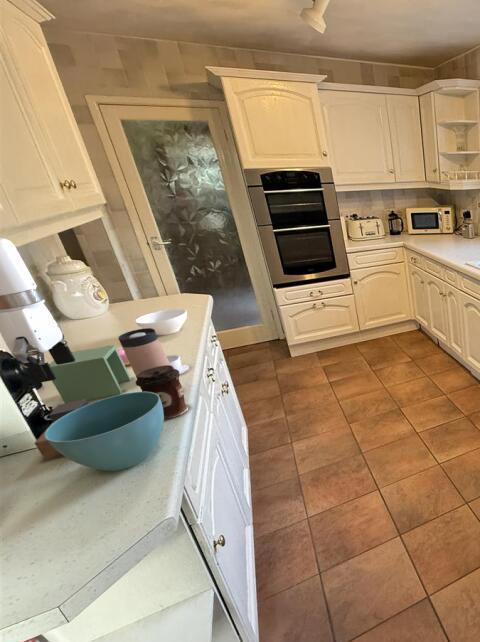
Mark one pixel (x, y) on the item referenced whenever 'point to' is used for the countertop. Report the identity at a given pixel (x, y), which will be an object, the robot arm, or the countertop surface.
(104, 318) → the countertop surface
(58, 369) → the high shelf
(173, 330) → the bowl
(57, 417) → the black block
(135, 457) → the blue dish
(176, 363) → the teacup
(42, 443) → the low shelf
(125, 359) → the doughnut
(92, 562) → the countertop surface
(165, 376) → the coffee cup
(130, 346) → the travel mug
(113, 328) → the countertop surface
